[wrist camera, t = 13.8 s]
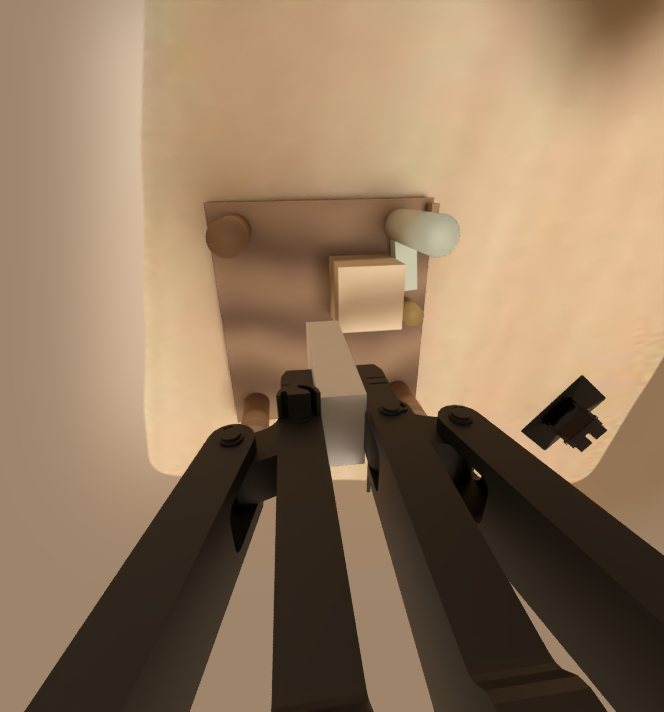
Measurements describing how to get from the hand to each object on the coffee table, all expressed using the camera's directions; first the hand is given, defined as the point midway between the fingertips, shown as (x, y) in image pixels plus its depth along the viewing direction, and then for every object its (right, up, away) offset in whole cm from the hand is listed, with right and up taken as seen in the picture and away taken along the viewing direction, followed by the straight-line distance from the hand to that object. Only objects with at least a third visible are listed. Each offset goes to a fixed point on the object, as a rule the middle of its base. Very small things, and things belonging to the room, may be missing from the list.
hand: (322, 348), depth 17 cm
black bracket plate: (+28, -7, +27) cm, 40 cm away
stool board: (0, +3, +16) cm, 17 cm away
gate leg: (+6, +9, +13) cm, 17 cm away
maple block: (+3, +6, +14) cm, 15 cm away
